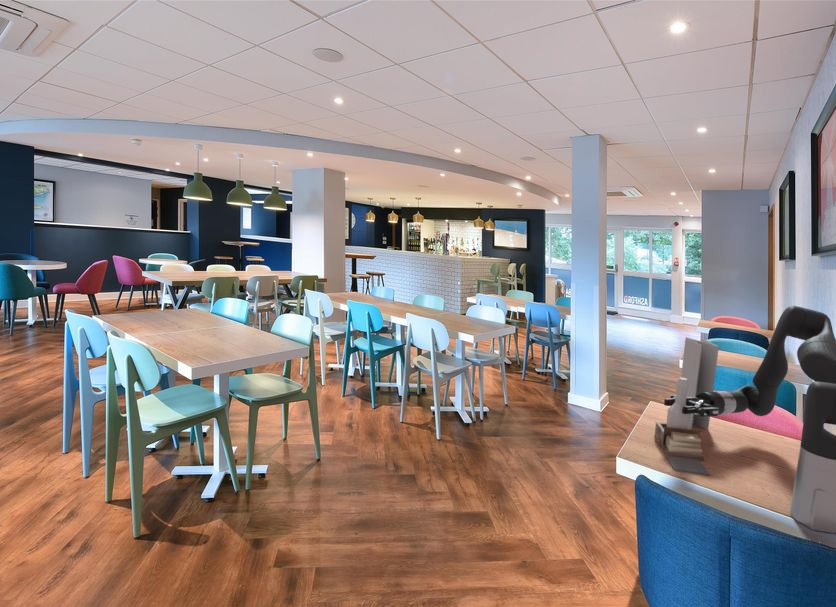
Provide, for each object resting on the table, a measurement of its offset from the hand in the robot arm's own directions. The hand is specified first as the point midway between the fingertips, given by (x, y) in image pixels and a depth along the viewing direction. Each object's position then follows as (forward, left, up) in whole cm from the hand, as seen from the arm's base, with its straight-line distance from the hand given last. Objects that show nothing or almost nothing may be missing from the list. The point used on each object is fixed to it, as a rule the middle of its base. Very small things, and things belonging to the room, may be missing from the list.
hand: (674, 406), depth 144 cm
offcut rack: (-1, -2, -13) cm, 13 cm away
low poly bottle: (+1, -2, -13) cm, 13 cm away
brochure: (+25, -14, -13) cm, 32 cm away
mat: (-14, -1, -13) cm, 19 cm away
